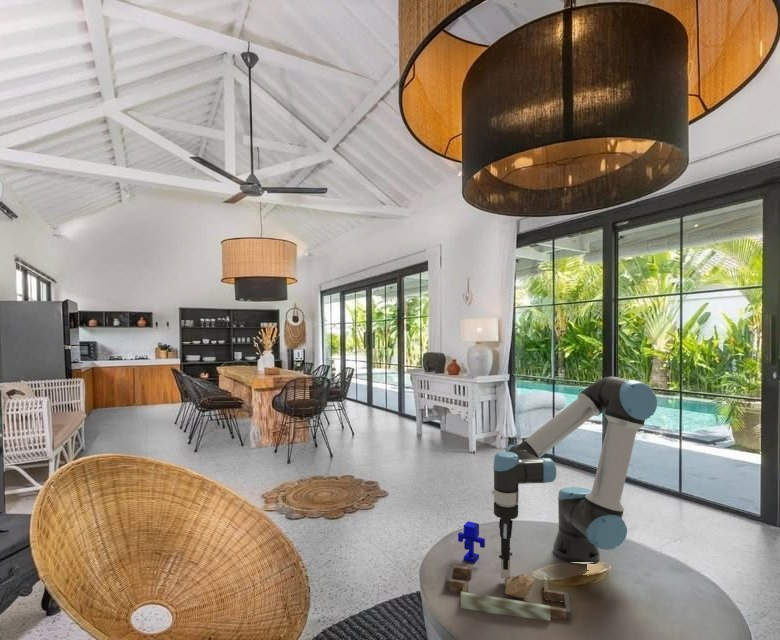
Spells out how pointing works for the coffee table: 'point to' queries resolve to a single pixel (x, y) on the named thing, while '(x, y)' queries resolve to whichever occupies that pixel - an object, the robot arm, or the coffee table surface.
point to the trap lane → (503, 604)
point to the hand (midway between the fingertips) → (505, 577)
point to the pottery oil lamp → (518, 585)
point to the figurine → (471, 540)
